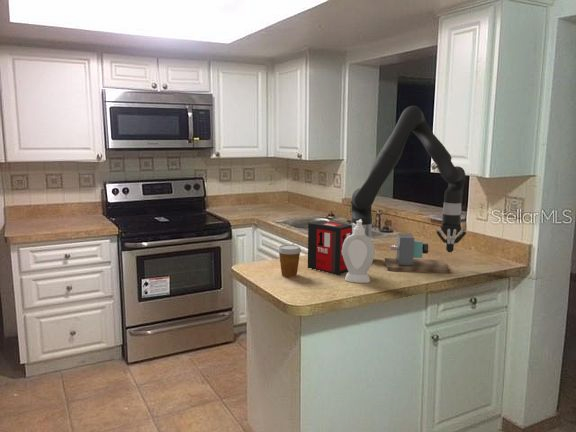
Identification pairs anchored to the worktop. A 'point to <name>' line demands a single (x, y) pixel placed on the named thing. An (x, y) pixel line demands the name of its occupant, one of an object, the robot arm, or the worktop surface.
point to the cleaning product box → (327, 246)
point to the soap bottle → (358, 255)
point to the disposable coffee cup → (289, 259)
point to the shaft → (424, 250)
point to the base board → (418, 266)
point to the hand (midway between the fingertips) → (449, 252)
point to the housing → (405, 249)
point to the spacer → (418, 249)
